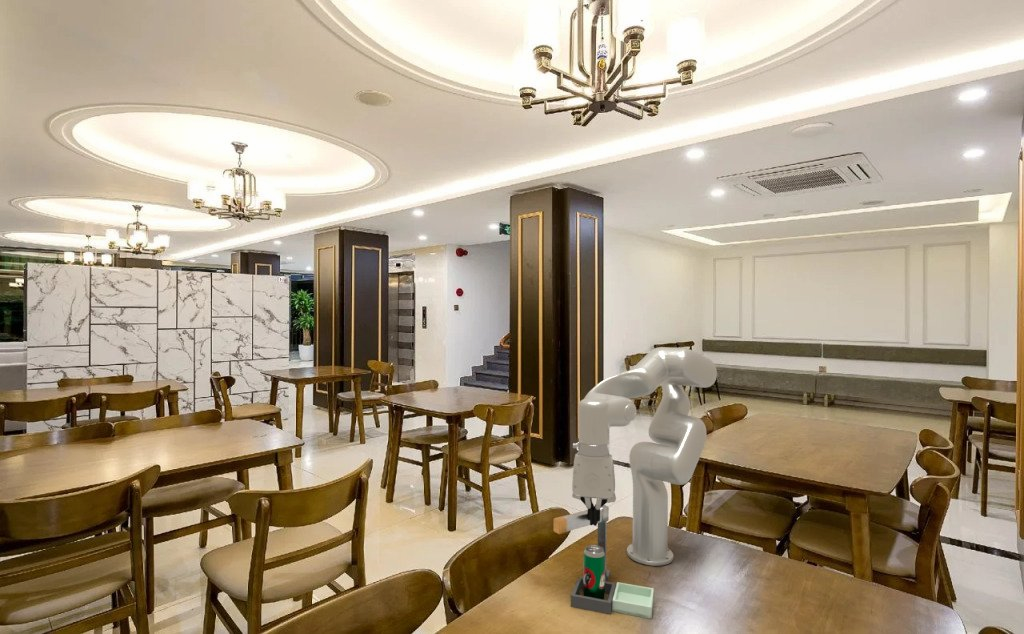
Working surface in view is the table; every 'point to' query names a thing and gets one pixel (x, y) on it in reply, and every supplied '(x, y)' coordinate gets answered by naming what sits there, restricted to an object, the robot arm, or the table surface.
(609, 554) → the table surface
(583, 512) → the bar
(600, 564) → the soda can
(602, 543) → the post
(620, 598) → the tray
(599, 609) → the collar
